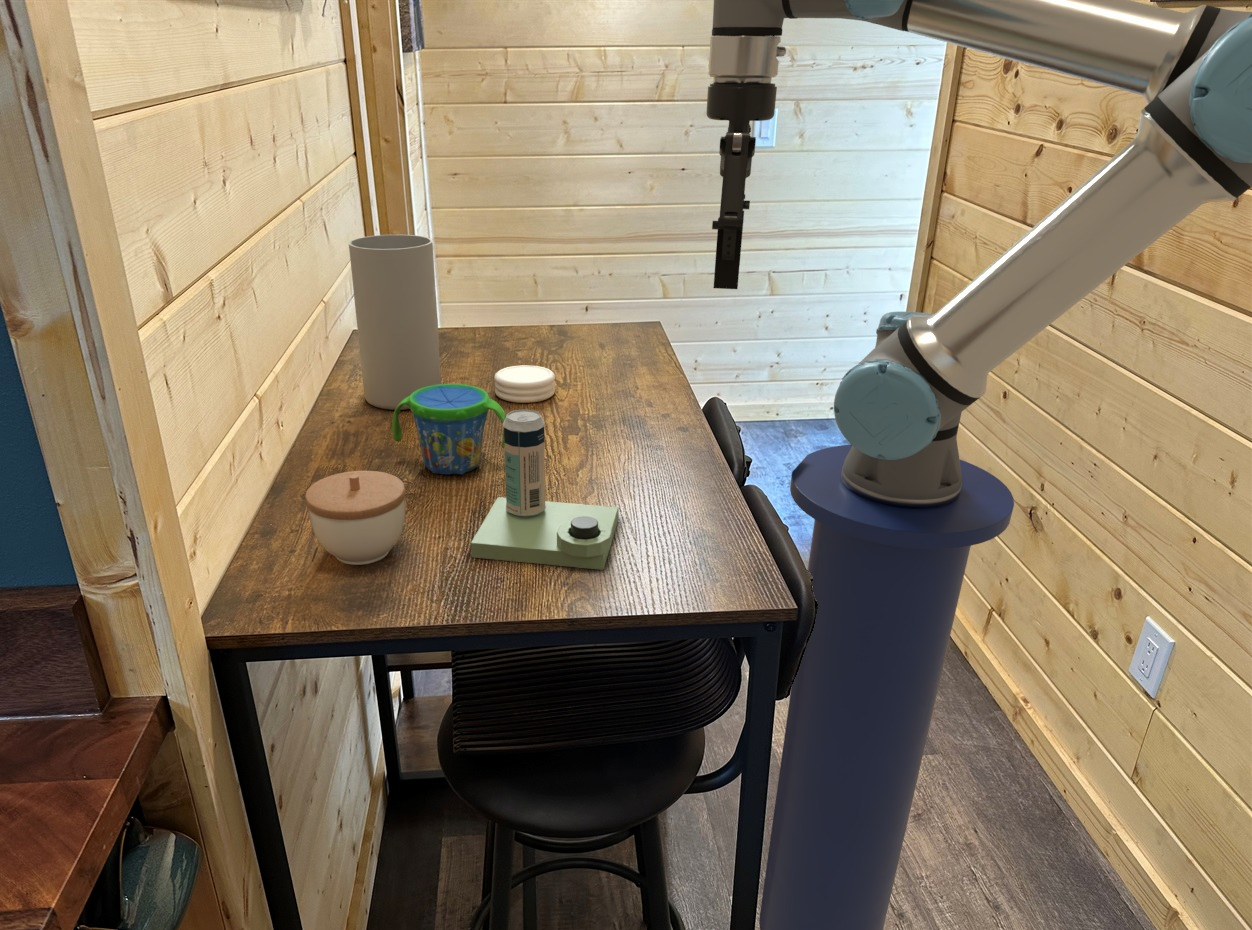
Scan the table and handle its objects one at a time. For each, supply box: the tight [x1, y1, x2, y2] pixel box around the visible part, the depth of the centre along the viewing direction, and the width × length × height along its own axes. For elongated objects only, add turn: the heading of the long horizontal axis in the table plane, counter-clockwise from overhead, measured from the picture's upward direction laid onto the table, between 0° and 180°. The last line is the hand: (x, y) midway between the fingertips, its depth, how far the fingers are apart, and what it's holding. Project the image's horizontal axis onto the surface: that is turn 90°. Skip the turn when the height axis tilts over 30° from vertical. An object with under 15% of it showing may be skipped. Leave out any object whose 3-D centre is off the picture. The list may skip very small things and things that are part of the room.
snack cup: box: [391, 383, 507, 476], centre depth 123 cm, size 16×10×10 cm
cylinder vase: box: [348, 234, 442, 411], centre depth 144 cm, size 12×12×25 cm
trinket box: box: [304, 470, 406, 566], centre depth 101 cm, size 11×11×9 cm
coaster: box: [494, 364, 556, 404], centre depth 151 cm, size 10×10×4 cm
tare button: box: [571, 516, 598, 540], centre depth 100 cm, size 3×3×2 cm
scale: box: [470, 496, 620, 571], centre depth 105 cm, size 15×13×4 cm
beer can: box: [502, 409, 546, 517], centre depth 106 cm, size 5×5×12 cm
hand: (727, 275), depth 110 cm, fingers open, 13 cm apart
